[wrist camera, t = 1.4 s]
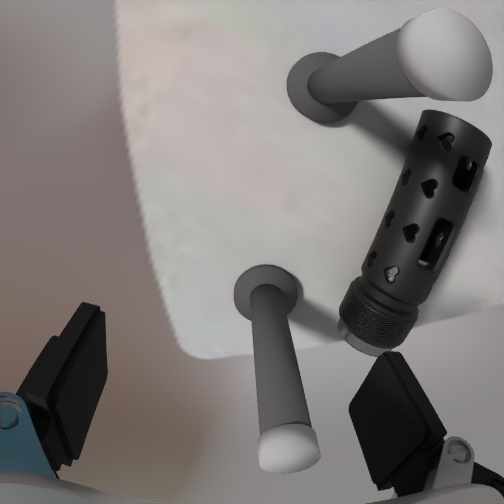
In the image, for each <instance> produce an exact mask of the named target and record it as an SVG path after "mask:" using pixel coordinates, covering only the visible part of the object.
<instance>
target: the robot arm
mask: <svg viewBox="0 0 504 504" xmlns="http://www.w3.org/2000/svg"><path fill="white" fill-rule="evenodd" d="M107 374H108V369H107V352H106V326H105V312H102V311H100V307H99V306H97V305H93V304H89V303H85V302H83V303H81V305H80V306H79V307H78V309H77V310H76V312H75V313H74V315H73V316H72V318H71V319H70V321H69V322H68V324H67V325H66V327H65V328H64V330H63V331H62V333H61V334H60V336H59V337H58V336H52V337H51V338H50V339H49V341H48V342H47V344H46V345H45V347H44V349H43V350H42V352H41V353H40V355H39V356H38V358H37V359H36V361H35V363H34V365H33V366H32V368H31V369H30V371H29V372H28V374H27V376H26V377H25V379H24V381H23V382H22V384H21V386H20V388H19V389H18V391H17V393H16V394H14V393H11V392H6V391H2V392H0V504H163V503H157V502H151V501H146V500H141V499H136V498H131V497H127V496H122V495H118V494H114V493H110V492H106V491H102V490H98V489H95V488H91V487H87V486H83V485H79V484H75V483H72V482H68V481H64V480H60V478H59V476H58V474H57V471H58V470H60V467H61V465H62V464H64V465H67V466H70V467H71V464H72V461H73V459H75V460H78V459H79V457H80V454H81V451H82V448H83V445H84V442H85V439H86V436H87V433H88V430H89V427H90V424H91V421H92V418H93V415H94V412H95V410H96V407H97V404H98V401H99V399H100V396H101V393H102V391H103V388H104V385H105V383H106V380H107ZM349 414H350V417H351V420H352V423H353V426H354V428H355V431H356V434H357V437H358V440H359V443H360V446H361V449H362V452H363V455H364V458H365V461H366V464H367V467H368V470H369V473H370V476H371V479H372V481H373V483H374V484H376V485H377V488H378V491H380V490H385V489H390V488H391V487H394V490H395V491H394V493H393V495H392V497H391V499H389V500H383V501H378V502H373V503H367V504H504V478H503V477H502V476H500V475H499V474H497V473H495V472H493V471H491V470H489V469H487V468H485V467H483V466H481V465H480V464H478V463H476V462H474V451H473V449H472V447H471V446H470V444H469V443H468V442H467V441H465V440H464V439H462V438H460V437H455V436H453V437H449V438H448V439H447V440H445V441H444V439H443V437H444V436H445V435H446V434H447V431H446V429H445V428H444V426H443V424H442V422H441V420H440V419H439V417H438V415H437V413H436V411H435V410H434V408H433V406H432V404H431V403H430V401H429V399H428V398H427V396H426V394H425V392H424V391H423V389H422V387H421V386H420V384H419V382H418V380H417V379H416V377H415V375H414V374H413V372H412V370H411V369H410V367H409V365H408V364H407V362H406V361H405V359H404V357H403V356H402V354H401V353H400V352H393V351H385V352H383V353H382V355H379V356H378V358H377V359H376V362H375V363H374V365H373V366H372V368H371V370H370V372H369V373H368V375H367V377H366V378H365V380H364V382H363V384H362V385H361V387H360V388H359V390H358V392H357V393H356V395H355V396H354V398H353V399H352V401H351V403H350V404H349Z"/></svg>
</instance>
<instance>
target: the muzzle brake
mask: <svg viewBox="0 0 504 504" xmlns="http://www.w3.org/2000/svg"><path fill="white" fill-rule="evenodd" d="M491 146H492V142H491V140H490V139H489V137H488V136H487V135H486V134H484V133H483V132H482V131H481V130H479V129H478V128H476V127H475V126H473V125H471V124H470V123H468V122H466V121H464V120H462V119H460V118H458V117H455V116H453V115H450V114H447V113H444V112H441V111H436V110H424V111H423V112H422V114H421V117H420V120H419V124H418V127H417V130H416V133H415V136H414V138H413V141H412V144H411V147H410V150H409V153H408V156H407V158H406V161H405V164H404V167H403V169H402V172H401V175H400V177H399V180H398V182H397V185H396V188H395V190H394V193H393V195H392V198H391V200H390V203H389V205H388V207H387V210H386V212H385V215H384V217H383V219H382V222H381V224H380V226H379V229H378V231H377V233H376V236H375V238H374V240H373V243H372V245H371V247H370V249H369V251H368V254H367V256H366V258H365V260H364V262H363V264H362V268H361V270H362V273H363V274H362V276H360V277H357V278H356V279H355V280H354V281H352V283H351V284H350V287H349V289H348V291H347V293H346V295H345V297H344V299H343V301H342V303H341V305H340V307H339V315H340V319H339V321H338V324H337V328H338V331H339V333H340V335H341V336H342V338H343V339H344V340H345V341H346V342H347V343H348V344H350V345H351V346H352V347H353V348H355V349H357V350H358V351H360V352H362V353H365V354H368V355H370V356H375V357H378V356H379V355H382V353H383V352H385V351H391V350H392V349H393V348H395V347H397V346H399V345H400V344H402V343H403V342H404V340H405V338H406V337H407V335H408V334H409V332H410V330H411V329H412V327H413V325H414V324H415V322H416V320H417V318H418V308H417V306H418V305H419V304H422V303H423V302H424V301H425V300H426V299H427V297H428V295H429V293H430V291H431V289H432V286H433V284H434V283H435V281H436V280H437V278H438V276H439V274H440V272H441V270H442V268H443V266H444V264H445V262H446V260H447V258H448V256H449V253H450V251H451V248H452V246H453V245H454V243H455V241H456V239H457V237H458V235H459V232H460V230H461V228H462V225H463V223H464V221H465V218H466V215H467V212H468V209H469V207H470V205H471V203H472V201H473V198H474V196H475V193H476V191H477V188H478V185H479V182H480V180H481V177H482V173H483V169H484V166H485V164H486V161H487V159H488V156H489V153H490V150H491ZM472 161H473V162H472ZM471 162H472V167H471V169H470V165H469V164H470V163H471ZM443 236H444V237H443ZM441 237H443V239H442V240H441V243H440V239H439V238H441Z"/></svg>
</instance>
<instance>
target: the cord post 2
mask: <svg viewBox="0 0 504 504" xmlns="http://www.w3.org/2000/svg"><path fill="white" fill-rule="evenodd" d="M492 73H493V65H492V58H491V54H490V50H489V47H488V45H487V43H486V41H485V39H484V37H483V35H482V34H481V32H480V31H479V29H478V28H477V27H476V26H475V24H474V23H473V22H472V21H471V20H469V19H468V18H467V17H466V16H464V15H463V14H461V13H460V12H458V11H455V10H453V9H449V8H436V9H433V10H431V11H428V12H426V13H424V14H421V15H419V16H417V17H415V18H412V19H410V20H409V21H407V22H406V23H405V24H404V25H403V26H402V28H400V29H397V30H395V31H393V32H391V33H389V34H386V35H384V36H382V37H380V38H378V39H376V40H374V41H372V42H370V43H368V44H366V45H364V46H362V47H360V48H358V49H356V50H354V51H352V52H350V53H348V54H346V55H344V56H342V57H339V56H337V55H334V54H331V53H326V52H317V53H312V54H309V55H306V56H305V57H303V58H301V59H300V60H299V61H298V62H297V63H296V64H295V65H294V66H293V67H292V69H291V70H290V72H289V75H288V79H287V92H288V96H289V98H290V101H291V102H292V104H293V106H294V107H295V108H296V109H297V110H298V111H299V112H300V113H301V114H302V115H304V116H305V117H307V118H309V119H312V120H315V121H320V122H333V121H337V120H340V119H342V118H344V117H346V116H347V115H348V114H350V113H351V112H352V111H353V109H354V108H355V106H356V104H357V102H358V101H361V100H373V99H387V98H405V97H429V98H432V99H435V100H441V101H474V100H477V99H479V98H480V97H482V96H483V95H484V94H485V93H486V91H487V90H488V88H489V86H490V83H491V80H492Z"/></svg>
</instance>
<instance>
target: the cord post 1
mask: <svg viewBox="0 0 504 504" xmlns="http://www.w3.org/2000/svg"><path fill="white" fill-rule="evenodd" d="M296 301H297V288H296V285H295V282H294V280H293V278H292V276H291V275H290V274H289V273H288V272H287V271H286V270H284V269H283V268H281V267H278V266H275V265H258V266H255V267H252V268H250V269H248V270H247V271H245V272H244V273H243V274H242V275H241V276H240V277H239V278H238V280H237V282H236V284H235V288H234V303H235V306H236V308H237V310H238V311H239V312H240V314H241V315H243V316H244V317H245V318H247V319H248V320H251V321H252V334H253V348H254V360H255V375H256V389H257V401H258V415H259V428H260V437H259V439H258V450H259V464H260V467H261V468H262V469H264V470H266V471H268V472H271V473H278V474H286V473H294V472H299V471H302V470H305V469H307V468H310V467H311V466H313V465H315V464H316V463H317V462H318V461H319V459H320V456H321V455H320V450H319V445H318V441H317V436H316V432H315V431H314V429H312V426H311V421H310V417H309V412H308V408H307V403H306V399H305V394H304V389H303V385H302V380H301V376H300V372H299V367H298V363H297V358H296V354H295V350H294V345H293V341H292V336H291V332H290V328H289V324H288V319H287V315H288V314H289V313H290V312H291V311H292V309H293V308H294V306H295V304H296Z"/></svg>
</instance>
